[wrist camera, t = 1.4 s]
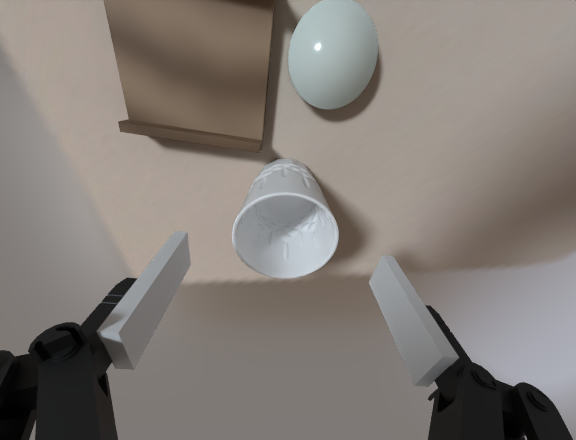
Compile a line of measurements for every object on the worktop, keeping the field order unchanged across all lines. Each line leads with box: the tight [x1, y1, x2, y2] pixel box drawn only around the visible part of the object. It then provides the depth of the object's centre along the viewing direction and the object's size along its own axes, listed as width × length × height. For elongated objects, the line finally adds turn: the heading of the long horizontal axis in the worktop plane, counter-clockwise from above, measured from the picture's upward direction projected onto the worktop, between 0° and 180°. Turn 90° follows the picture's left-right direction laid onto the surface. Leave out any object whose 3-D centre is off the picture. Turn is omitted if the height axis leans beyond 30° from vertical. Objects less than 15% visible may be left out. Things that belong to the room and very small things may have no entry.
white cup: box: [232, 159, 339, 278], centre depth 20 cm, size 8×8×10 cm
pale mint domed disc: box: [288, 0, 378, 109], centre depth 18 cm, size 7×7×2 cm
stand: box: [104, 0, 275, 153], centre depth 17 cm, size 12×12×3 cm
